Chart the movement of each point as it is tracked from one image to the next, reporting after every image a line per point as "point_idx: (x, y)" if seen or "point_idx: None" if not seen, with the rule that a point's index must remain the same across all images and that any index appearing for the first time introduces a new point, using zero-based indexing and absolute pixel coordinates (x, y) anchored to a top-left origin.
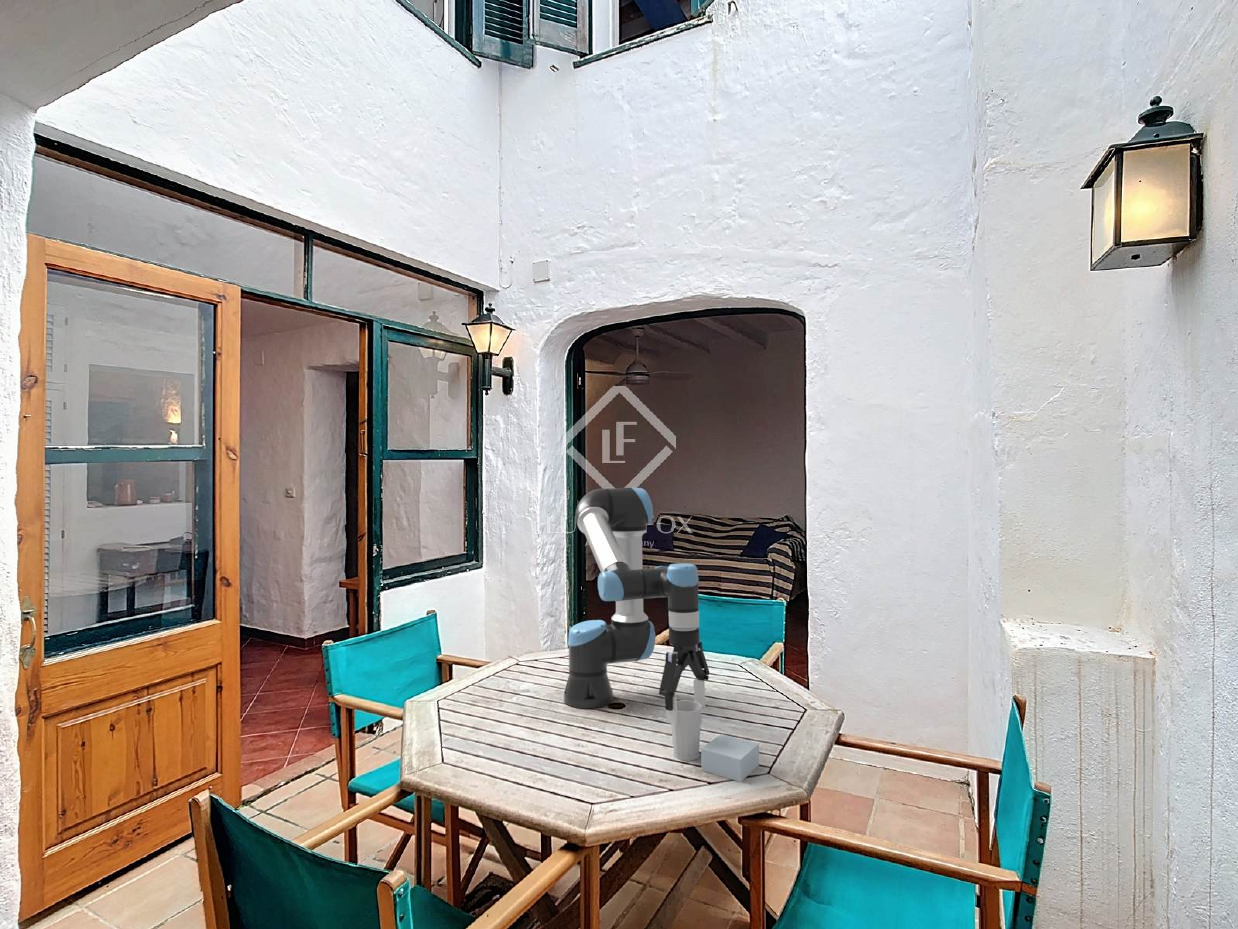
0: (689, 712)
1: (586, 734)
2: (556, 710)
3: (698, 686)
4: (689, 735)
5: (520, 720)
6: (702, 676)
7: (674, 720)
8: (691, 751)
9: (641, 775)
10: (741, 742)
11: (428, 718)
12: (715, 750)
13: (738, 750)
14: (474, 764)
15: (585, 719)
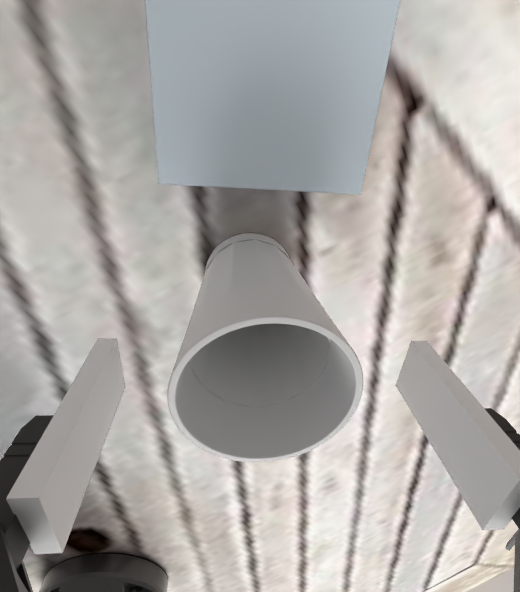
0: (347, 342)
1: (273, 502)
2: (201, 583)
3: (73, 474)
4: (304, 284)
5: (281, 589)
6: (8, 559)
7: (436, 359)
8: (282, 254)
9: (428, 315)
10: (189, 19)
11: None
12: (354, 121)
13: None
14: (470, 540)
15: (204, 538)
